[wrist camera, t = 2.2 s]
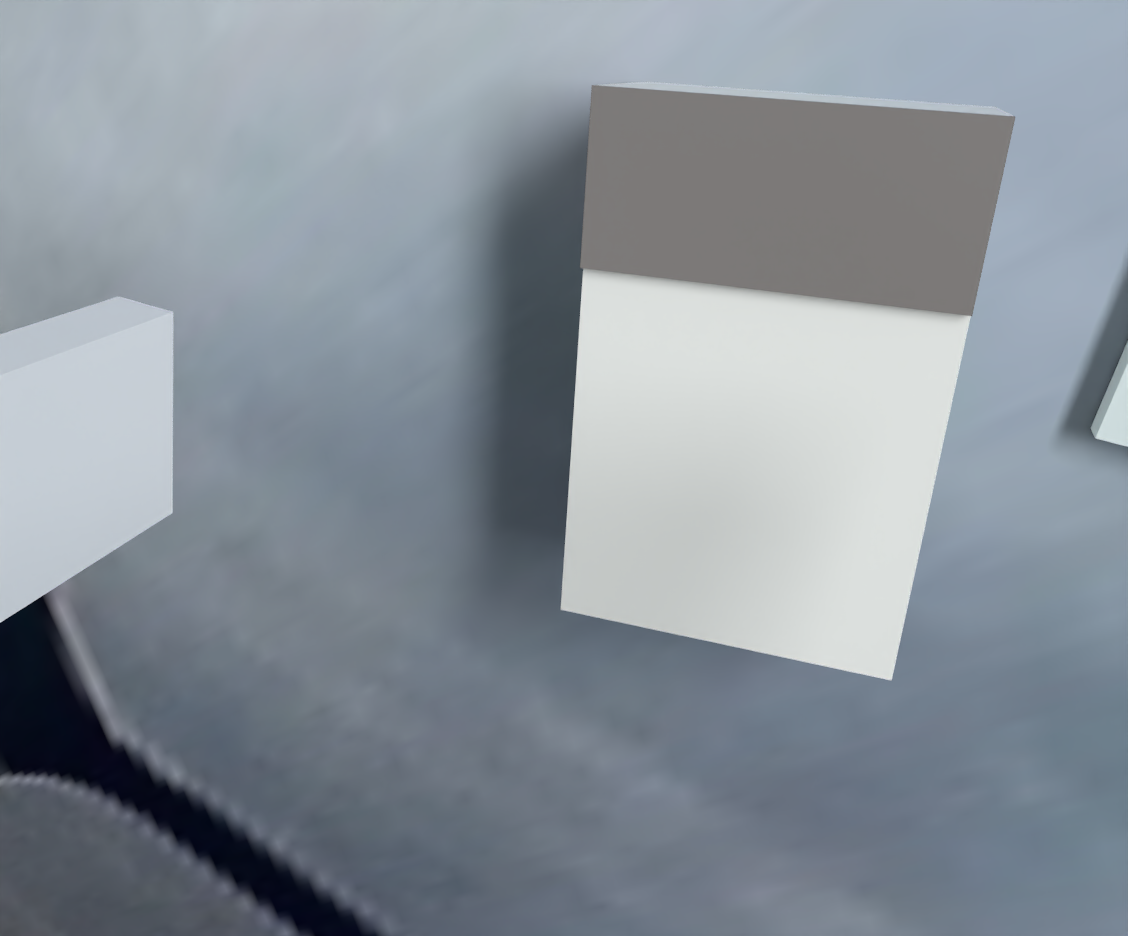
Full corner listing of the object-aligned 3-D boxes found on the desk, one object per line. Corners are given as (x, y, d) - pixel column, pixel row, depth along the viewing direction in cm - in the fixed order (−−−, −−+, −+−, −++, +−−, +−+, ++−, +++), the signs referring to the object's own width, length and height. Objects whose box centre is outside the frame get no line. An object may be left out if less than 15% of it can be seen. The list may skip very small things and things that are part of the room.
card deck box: (894, 583, 23) (891, 686, 19) (611, 529, 24) (557, 614, 20) (994, 106, 19) (1015, 116, 15) (649, 81, 20) (592, 85, 17)
